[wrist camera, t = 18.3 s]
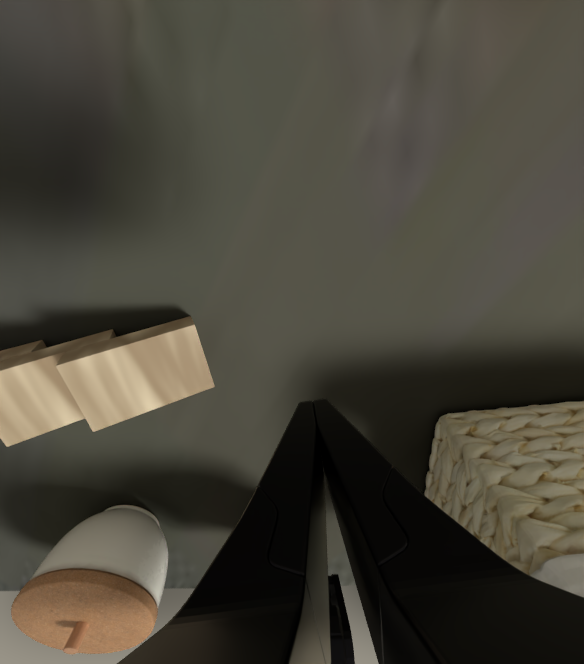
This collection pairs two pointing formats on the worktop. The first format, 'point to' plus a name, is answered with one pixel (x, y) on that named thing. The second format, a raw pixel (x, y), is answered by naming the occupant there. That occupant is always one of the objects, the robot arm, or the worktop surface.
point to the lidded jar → (97, 584)
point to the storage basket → (517, 485)
